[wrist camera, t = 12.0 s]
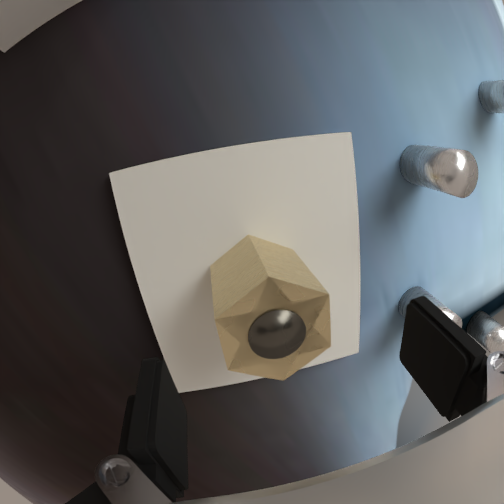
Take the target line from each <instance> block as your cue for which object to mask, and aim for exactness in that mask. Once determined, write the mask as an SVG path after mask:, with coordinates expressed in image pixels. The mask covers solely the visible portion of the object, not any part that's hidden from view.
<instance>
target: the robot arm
mask: <svg viewBox="0 0 504 504" xmlns="http://www.w3.org/2000/svg"><path fill="white" fill-rule="evenodd" d="M485 353H486V351H485V350H484V349H483V348H482V347H481V346H480V345H479V344H478V343H477V342H476V341H475V340H474V339H473V338H471V337H470V336H469V335H468V334H467V333H466V332H465V331H464V330H463V329H462V328H461V327H459V326H458V325H457V324H456V323H455V322H454V321H453V320H452V319H451V318H449V317H448V316H447V315H446V314H445V313H444V312H443V311H442V310H440V309H439V308H438V307H437V306H436V305H435V304H433V303H432V302H431V301H430V300H429V299H428V298H426V297H425V296H420V297H417V298H414V299H412V300H410V302H409V304H408V305H407V307H406V315H405V323H404V330H403V337H402V343H401V349H400V361H401V363H402V364H403V365H404V367H405V368H406V369H407V371H408V372H409V373H410V375H411V376H412V377H413V378H414V380H415V381H416V382H417V384H418V385H419V386H420V388H421V389H422V390H423V392H424V393H425V394H426V396H427V397H428V398H429V400H430V401H431V402H432V404H433V405H434V406H435V408H436V409H437V410H438V412H439V413H440V414H441V416H443V417H444V416H445V417H446V418H447V419H448V421H449V422H450V421H451V420H453V419H455V418H457V417H459V416H460V415H461V417H460V418H458V419H456V420H454V421H452V422H451V423H449V424H447V425H445V426H443V427H441V428H439V429H437V430H435V431H433V432H431V433H429V434H427V435H425V436H423V437H421V438H419V439H417V440H414V441H412V442H410V443H408V444H406V445H403V446H401V447H399V448H396V449H394V450H392V451H389V452H387V453H384V454H382V455H379V456H377V457H374V458H371V459H369V460H366V461H363V462H360V463H358V464H355V465H352V466H349V467H346V468H343V469H340V470H337V471H333V472H330V473H327V474H323V475H320V476H316V477H313V478H309V479H305V480H301V481H297V482H293V483H289V484H285V485H280V486H276V487H271V488H266V489H261V490H255V491H250V492H244V493H238V494H232V495H225V496H218V497H209V498H202V499H195V500H187V501H181V502H176V498H180V497H184V490H187V489H188V463H187V413H186V408H185V406H184V404H183V402H182V399H181V397H180V395H179V393H178V390H177V388H176V386H175V383H174V381H173V379H172V376H171V374H170V372H169V369H168V367H167V364H166V362H165V361H164V360H162V361H160V359H159V358H158V357H155V358H147V359H143V360H142V364H141V369H140V374H139V379H138V385H137V390H136V395H132V396H129V398H128V401H127V406H126V411H125V416H124V422H123V427H122V433H121V439H120V445H119V451H118V455H111V456H108V457H106V458H104V459H103V460H102V461H100V462H99V464H98V465H97V467H96V469H95V480H96V482H94V483H93V484H92V485H90V486H89V487H88V488H86V489H85V490H84V491H82V492H81V493H79V494H78V495H77V496H75V497H74V498H72V499H71V500H70V501H68V502H67V503H65V504H504V351H496V352H493V353H492V354H490V355H489V357H487V356H486V355H485Z"/></svg>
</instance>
